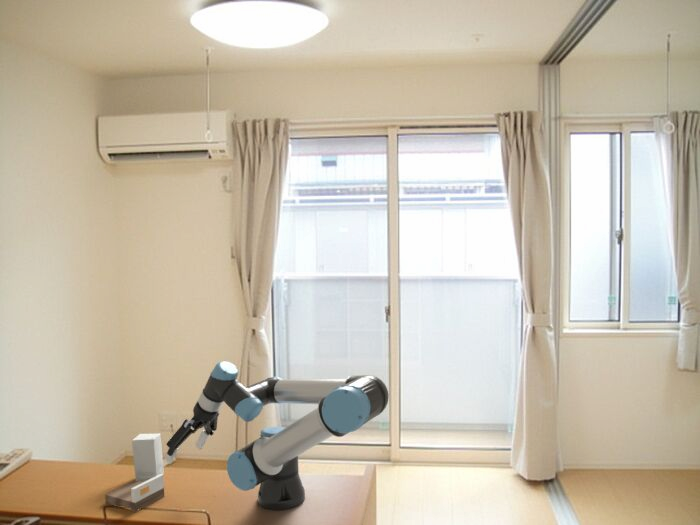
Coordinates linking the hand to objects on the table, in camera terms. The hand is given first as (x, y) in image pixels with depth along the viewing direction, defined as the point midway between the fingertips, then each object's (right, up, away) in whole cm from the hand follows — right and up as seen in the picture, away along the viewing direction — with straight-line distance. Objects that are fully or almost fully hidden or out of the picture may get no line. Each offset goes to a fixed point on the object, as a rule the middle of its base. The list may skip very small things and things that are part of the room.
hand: (183, 454), depth 191 cm
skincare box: (-17, -15, +18) cm, 29 cm away
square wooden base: (-16, -16, +2) cm, 23 cm away
